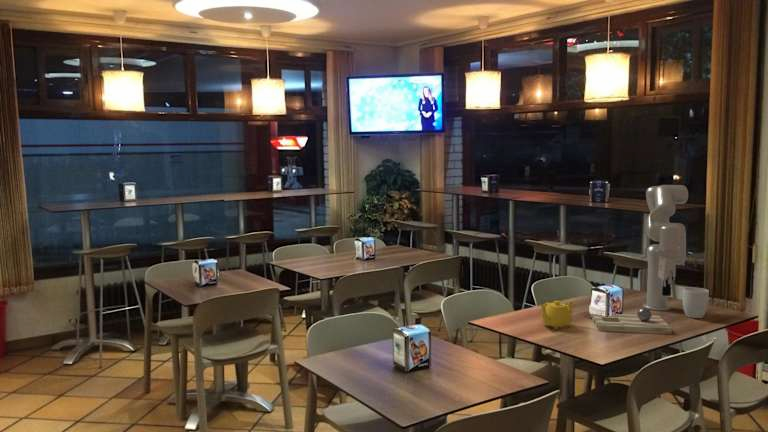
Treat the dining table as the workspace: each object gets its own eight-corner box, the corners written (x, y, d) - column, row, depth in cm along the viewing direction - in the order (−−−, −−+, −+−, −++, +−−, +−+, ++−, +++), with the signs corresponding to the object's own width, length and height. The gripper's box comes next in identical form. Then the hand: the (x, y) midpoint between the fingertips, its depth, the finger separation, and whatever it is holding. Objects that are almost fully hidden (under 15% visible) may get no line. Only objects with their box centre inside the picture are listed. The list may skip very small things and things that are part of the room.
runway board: (591, 318, 304) (591, 313, 304) (659, 321, 300) (659, 315, 299) (598, 330, 284) (598, 325, 284) (671, 333, 280) (671, 328, 280)
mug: (692, 311, 317) (693, 284, 316) (715, 315, 309) (717, 288, 307) (677, 316, 308) (678, 289, 306) (700, 321, 299) (702, 293, 298)
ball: (635, 318, 294) (636, 305, 294) (649, 319, 293) (650, 306, 293) (638, 322, 288) (639, 309, 288) (652, 323, 287) (653, 309, 287)
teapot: (559, 318, 303) (560, 294, 302) (583, 326, 291) (584, 301, 289) (526, 324, 293) (527, 299, 292) (550, 333, 281) (551, 307, 279)
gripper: (654, 251, 293) (652, 291, 295) (664, 256, 278) (661, 298, 280) (672, 251, 292) (670, 292, 294) (682, 256, 277) (680, 299, 279)
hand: (666, 295), depth 287 cm, fingers closed
